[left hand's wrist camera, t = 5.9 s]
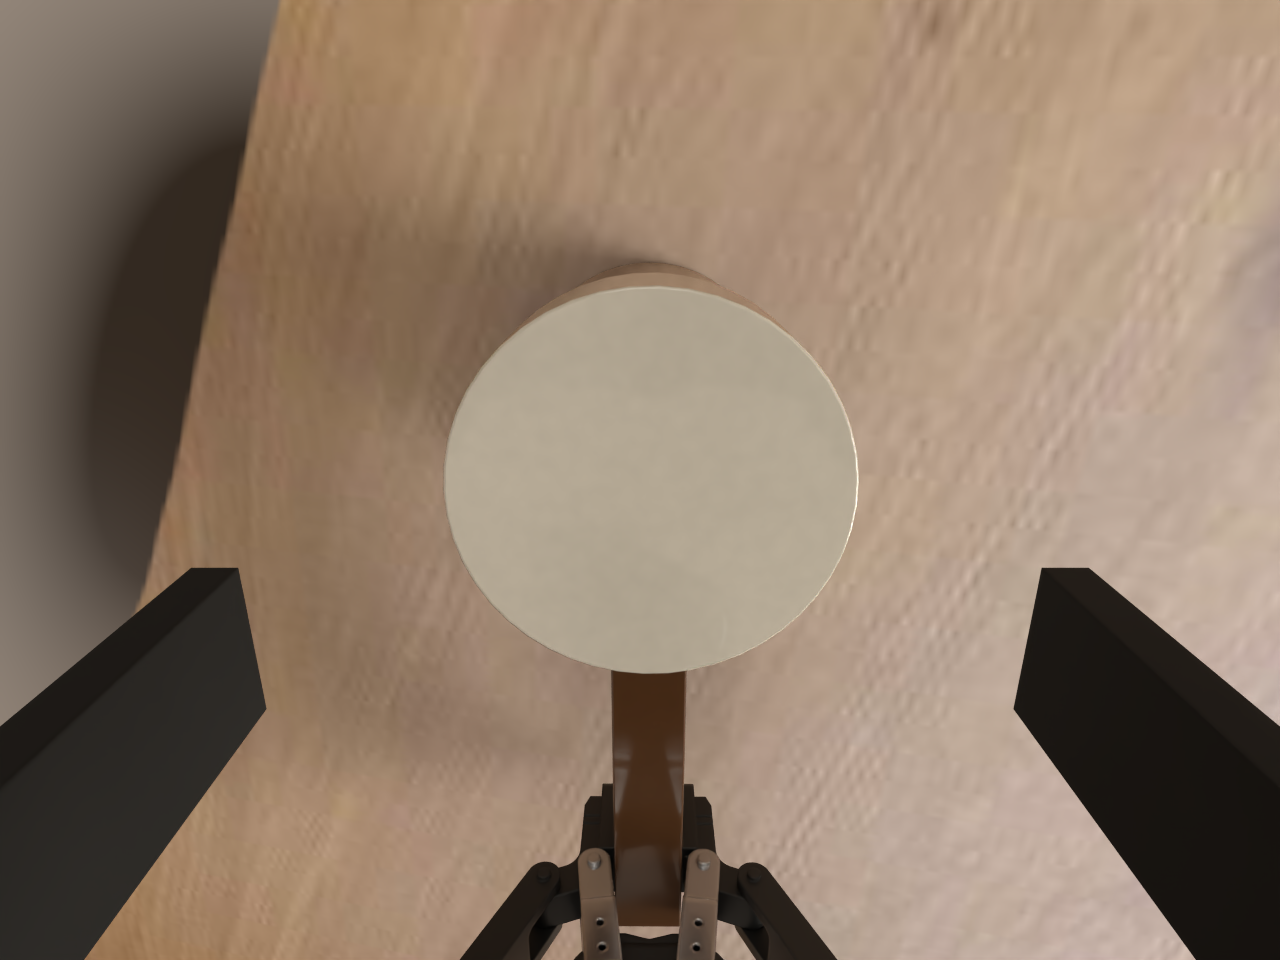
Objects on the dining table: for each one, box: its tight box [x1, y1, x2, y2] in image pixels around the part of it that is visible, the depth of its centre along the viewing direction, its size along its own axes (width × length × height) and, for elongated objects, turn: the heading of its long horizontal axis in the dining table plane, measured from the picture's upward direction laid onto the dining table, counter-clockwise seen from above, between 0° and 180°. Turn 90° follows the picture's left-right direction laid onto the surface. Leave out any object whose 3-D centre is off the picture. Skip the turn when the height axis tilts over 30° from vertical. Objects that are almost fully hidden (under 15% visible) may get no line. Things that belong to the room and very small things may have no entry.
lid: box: [443, 273, 859, 674], centre depth 20 cm, size 10×10×3 cm
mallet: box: [578, 262, 720, 926], centre depth 28 cm, size 24×9×9 cm, turn 0°
